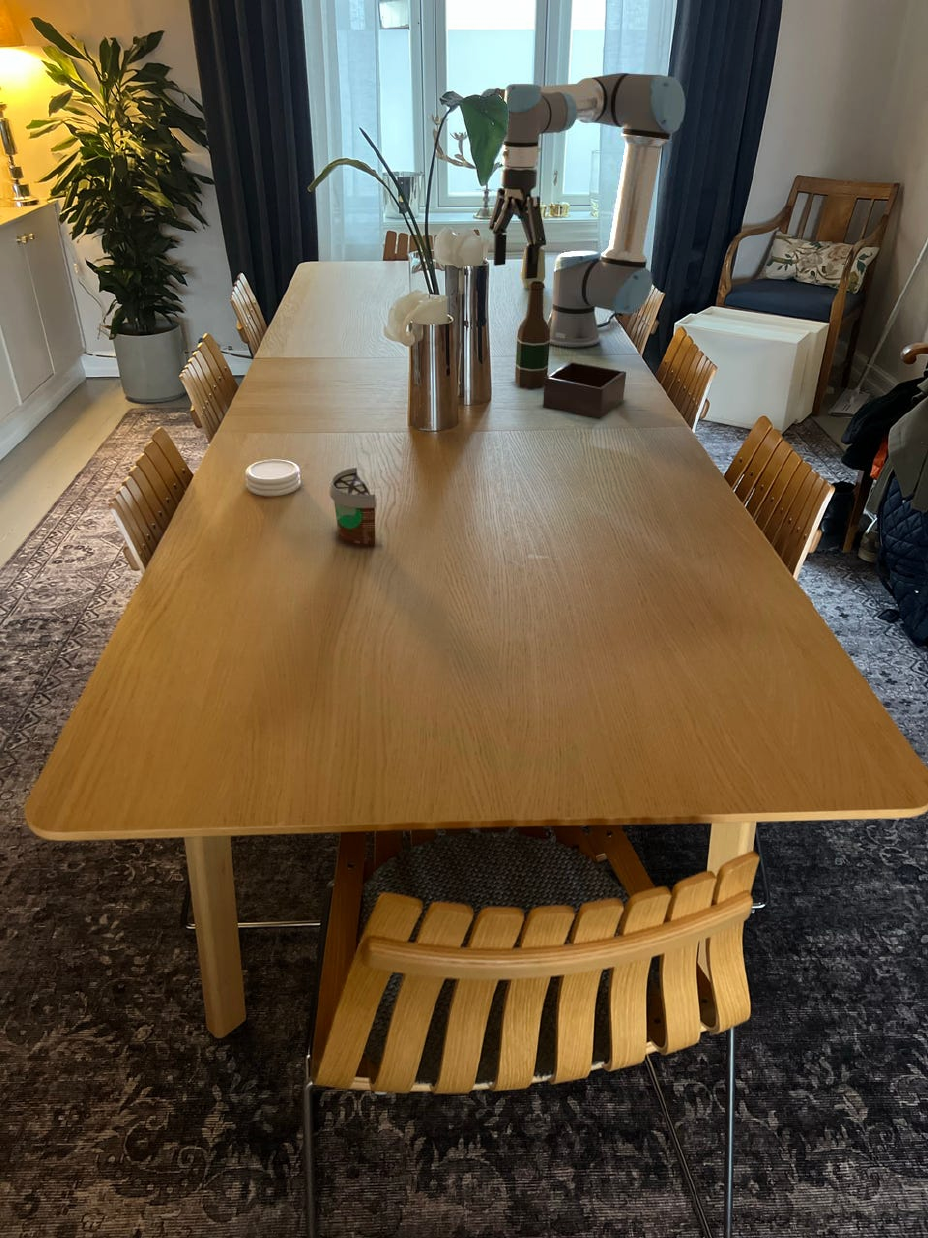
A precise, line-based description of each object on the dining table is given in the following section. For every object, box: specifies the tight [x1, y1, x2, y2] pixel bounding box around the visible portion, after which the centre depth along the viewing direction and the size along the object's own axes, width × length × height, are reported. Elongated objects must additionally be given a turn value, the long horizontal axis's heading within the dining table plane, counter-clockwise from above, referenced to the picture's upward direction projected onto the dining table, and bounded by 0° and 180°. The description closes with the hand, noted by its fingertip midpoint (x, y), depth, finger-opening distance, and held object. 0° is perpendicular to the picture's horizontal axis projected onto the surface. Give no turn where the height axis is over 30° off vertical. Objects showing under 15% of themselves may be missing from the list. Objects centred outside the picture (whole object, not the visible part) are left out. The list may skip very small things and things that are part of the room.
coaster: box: [244, 459, 301, 498], centre depth 179 cm, size 10×10×4 cm
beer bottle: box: [514, 281, 551, 390], centre depth 226 cm, size 8×8×24 cm
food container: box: [328, 467, 377, 548], centre depth 161 cm, size 12×6×10 cm, turn 21°
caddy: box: [542, 361, 627, 420], centre depth 219 cm, size 14×14×7 cm
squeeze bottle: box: [520, 246, 546, 290], centre depth 308 cm, size 8×8×18 cm
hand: (514, 271), depth 214 cm, fingers open, 13 cm apart
